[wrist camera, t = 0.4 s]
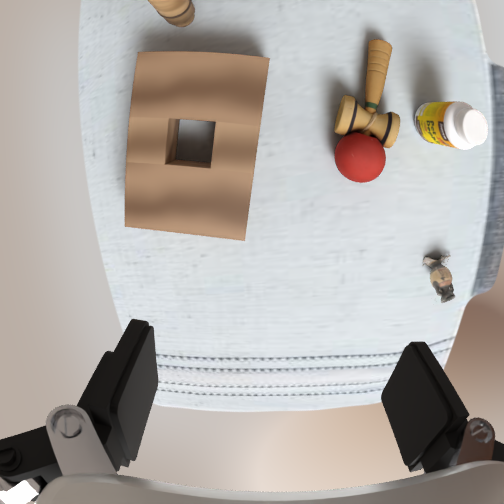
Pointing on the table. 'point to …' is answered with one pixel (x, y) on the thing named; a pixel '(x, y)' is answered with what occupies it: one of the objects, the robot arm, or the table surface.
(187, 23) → the oak peg
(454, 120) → the supplement bottle
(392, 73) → the table surface
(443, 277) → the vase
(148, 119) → the seat board
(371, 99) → the kendama
